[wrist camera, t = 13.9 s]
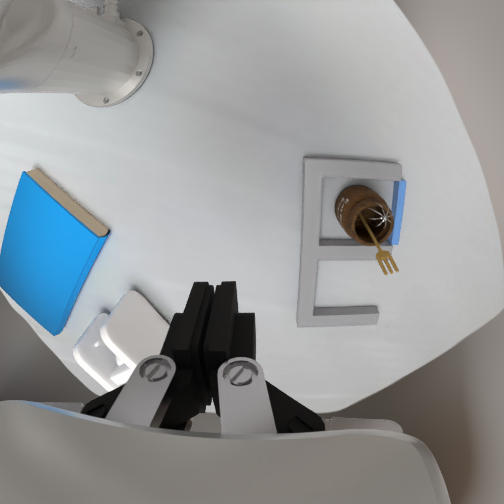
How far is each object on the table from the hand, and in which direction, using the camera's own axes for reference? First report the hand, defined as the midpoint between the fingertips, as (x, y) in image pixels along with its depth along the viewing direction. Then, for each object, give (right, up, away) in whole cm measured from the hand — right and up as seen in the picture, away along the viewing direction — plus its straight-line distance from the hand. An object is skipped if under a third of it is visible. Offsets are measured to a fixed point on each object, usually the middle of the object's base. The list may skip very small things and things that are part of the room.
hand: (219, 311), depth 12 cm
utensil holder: (+14, +8, +24) cm, 30 cm away
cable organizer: (-16, -10, +34) cm, 39 cm away
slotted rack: (+14, +3, +26) cm, 30 cm away
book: (-33, +2, +30) cm, 45 cm away
